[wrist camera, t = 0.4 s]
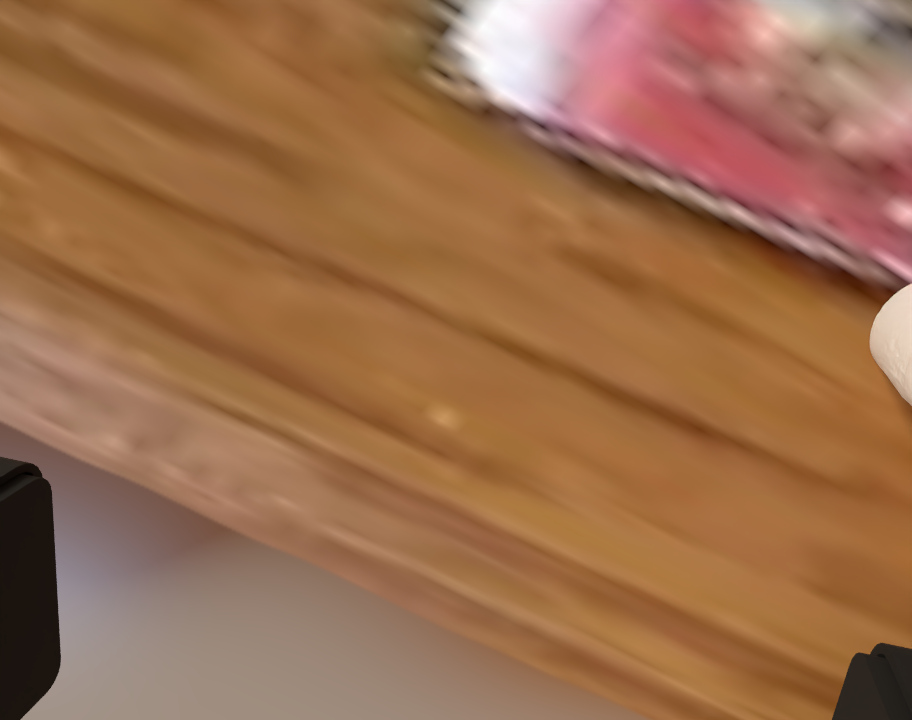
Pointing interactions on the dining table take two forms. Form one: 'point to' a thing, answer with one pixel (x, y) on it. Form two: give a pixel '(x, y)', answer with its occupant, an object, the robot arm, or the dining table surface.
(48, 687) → the robot arm
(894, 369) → the roll
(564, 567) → the dining table surface
